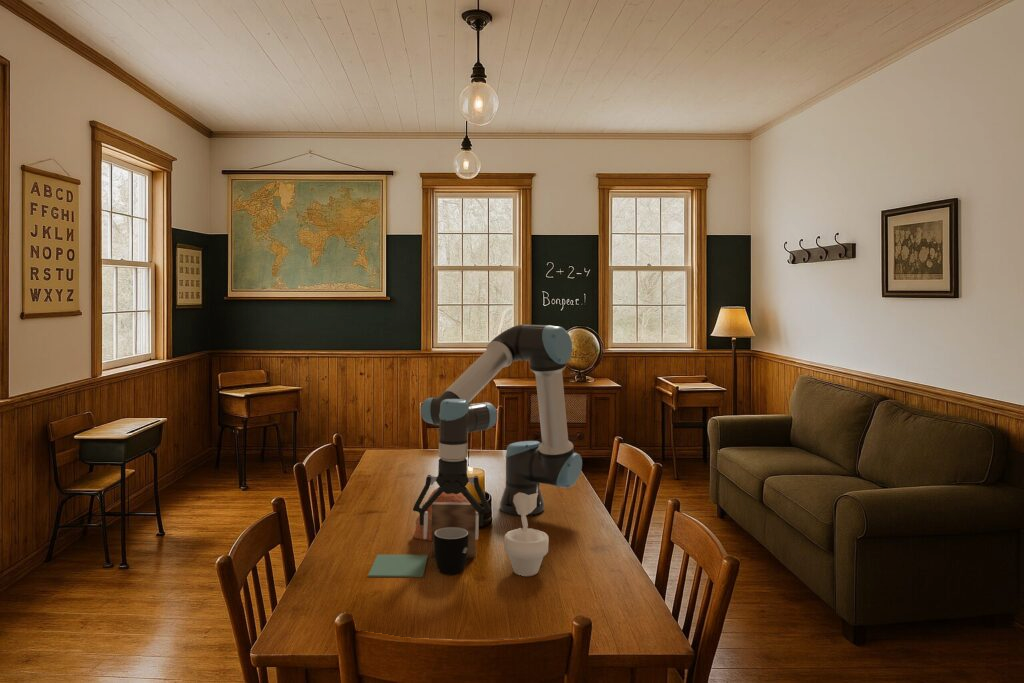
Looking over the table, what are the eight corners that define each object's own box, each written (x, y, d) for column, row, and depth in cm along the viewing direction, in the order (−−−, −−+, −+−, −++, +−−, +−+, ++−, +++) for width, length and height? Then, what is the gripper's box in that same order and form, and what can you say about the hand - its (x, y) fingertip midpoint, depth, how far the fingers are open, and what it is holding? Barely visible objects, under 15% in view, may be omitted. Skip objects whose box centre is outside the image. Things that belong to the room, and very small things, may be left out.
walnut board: (475, 551, 190) (476, 499, 189) (474, 558, 185) (475, 504, 184) (433, 550, 189) (433, 498, 188) (431, 557, 184) (432, 504, 183)
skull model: (430, 524, 212) (431, 477, 211) (484, 533, 205) (485, 484, 204) (405, 540, 197) (406, 489, 197) (463, 550, 191) (463, 497, 190)
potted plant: (534, 585, 168) (536, 487, 166) (495, 574, 174) (497, 480, 172) (557, 568, 178) (559, 476, 177) (520, 559, 184) (522, 470, 183)
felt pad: (428, 556, 185) (428, 554, 185) (422, 577, 171) (422, 575, 171) (377, 555, 185) (377, 554, 185) (368, 576, 171) (368, 575, 171)
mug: (466, 577, 171) (466, 539, 171) (431, 576, 172) (431, 538, 171) (470, 559, 183) (470, 523, 183) (437, 558, 184) (438, 522, 183)
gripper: (500, 456, 180) (498, 533, 181) (407, 454, 179) (405, 531, 180) (500, 462, 172) (498, 543, 173) (403, 460, 172) (401, 541, 173)
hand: (451, 537), depth 177 cm, fingers open, 13 cm apart
